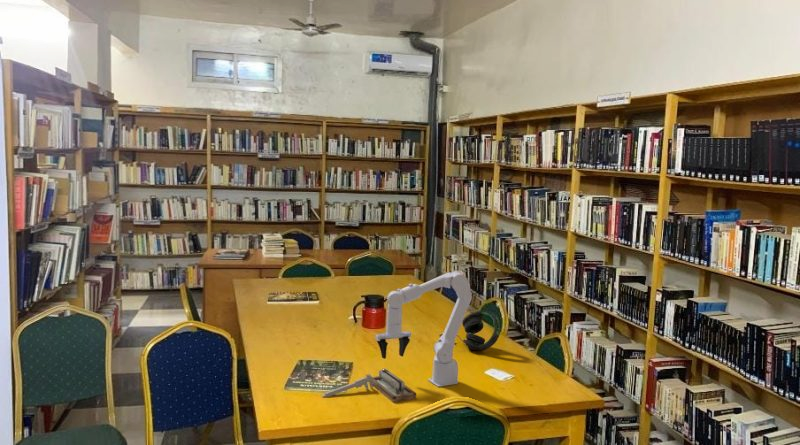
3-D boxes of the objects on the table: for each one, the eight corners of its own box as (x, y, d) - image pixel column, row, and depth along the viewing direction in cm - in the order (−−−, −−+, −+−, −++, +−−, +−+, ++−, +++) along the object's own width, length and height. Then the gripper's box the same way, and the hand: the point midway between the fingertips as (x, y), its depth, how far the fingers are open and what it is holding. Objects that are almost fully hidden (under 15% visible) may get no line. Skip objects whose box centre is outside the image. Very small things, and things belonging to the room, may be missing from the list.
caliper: (371, 388, 226) (372, 372, 225) (372, 389, 225) (373, 373, 224) (321, 397, 215) (321, 380, 215) (322, 398, 214) (323, 381, 214)
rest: (390, 379, 235) (390, 374, 235) (415, 398, 217) (416, 393, 217) (368, 382, 231) (369, 377, 231) (393, 402, 213) (393, 396, 213)
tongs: (386, 379, 232) (386, 367, 231) (404, 392, 219) (404, 380, 219) (378, 380, 230) (379, 369, 230) (395, 394, 217) (396, 382, 217)
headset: (456, 361, 286) (506, 346, 269) (437, 353, 278) (487, 337, 261) (455, 326, 296) (503, 309, 279) (437, 318, 288) (484, 300, 271)
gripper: (405, 318, 238) (404, 351, 239) (372, 321, 231) (371, 355, 232) (414, 323, 231) (412, 357, 233) (380, 326, 225) (379, 361, 226)
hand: (392, 356), depth 232 cm, fingers open, 7 cm apart
